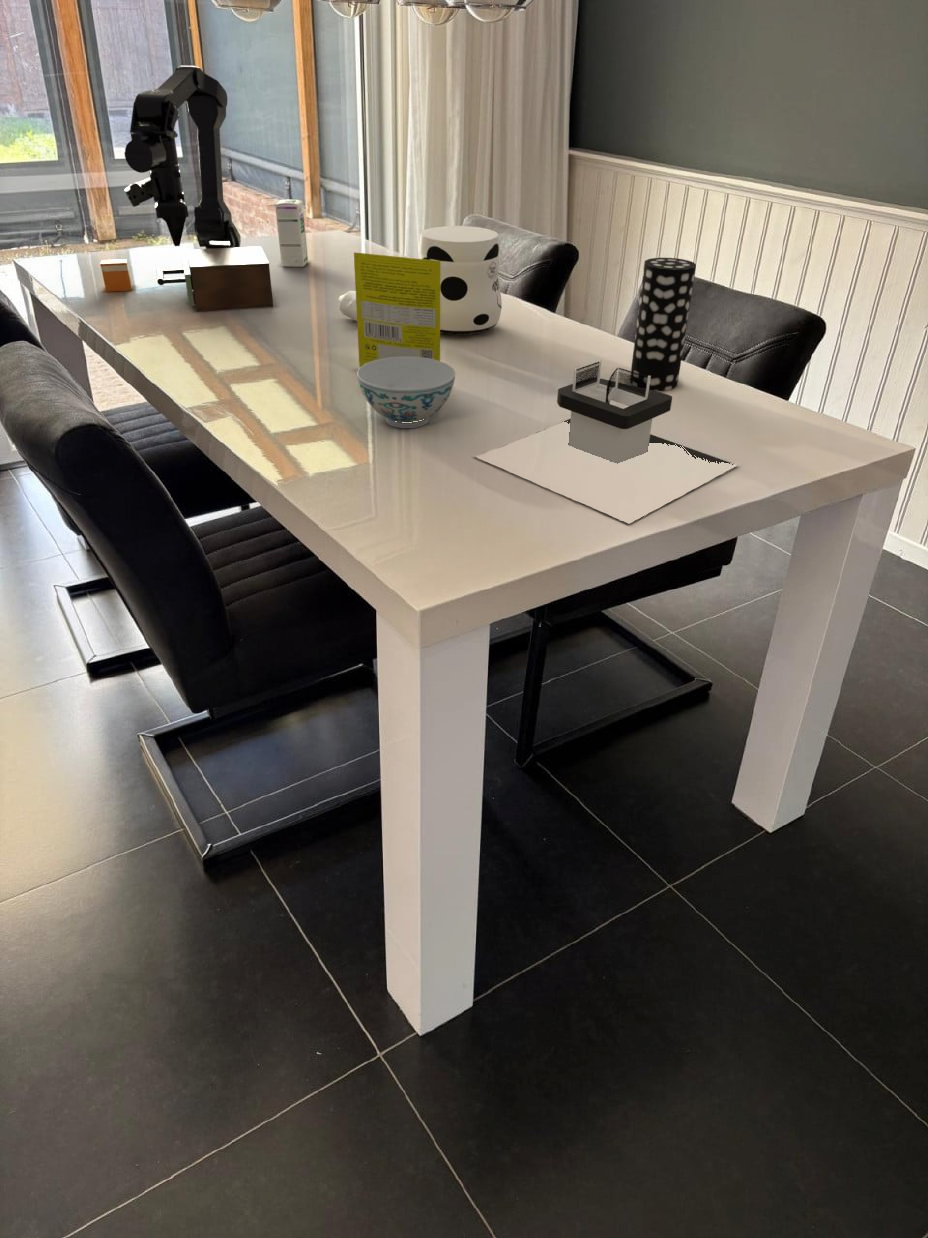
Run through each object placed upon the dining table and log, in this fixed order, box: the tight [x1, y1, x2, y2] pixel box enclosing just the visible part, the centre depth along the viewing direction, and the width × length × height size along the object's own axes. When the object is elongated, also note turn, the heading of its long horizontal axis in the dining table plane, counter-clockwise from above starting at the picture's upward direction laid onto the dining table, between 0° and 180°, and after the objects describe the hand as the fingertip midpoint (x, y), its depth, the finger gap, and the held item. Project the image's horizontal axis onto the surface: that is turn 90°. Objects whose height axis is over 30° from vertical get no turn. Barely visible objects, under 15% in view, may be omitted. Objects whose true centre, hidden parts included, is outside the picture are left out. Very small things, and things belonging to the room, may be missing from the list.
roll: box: [337, 290, 357, 323], centre depth 184 cm, size 6×12×6 cm, turn 35°
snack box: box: [100, 258, 133, 293], centre depth 200 cm, size 6×3×6 cm, turn 107°
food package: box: [353, 252, 441, 369], centre depth 152 cm, size 15×1×20 cm, turn 71°
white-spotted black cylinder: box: [630, 257, 697, 392], centre depth 152 cm, size 8×8×20 cm
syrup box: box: [274, 198, 309, 268], centre depth 220 cm, size 6×6×14 cm
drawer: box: [156, 256, 196, 307], centre depth 193 cm, size 22×16×6 cm
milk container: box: [418, 225, 503, 336], centre depth 177 cm, size 17×17×18 cm
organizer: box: [186, 246, 274, 312], centre depth 194 cm, size 16×16×9 cm
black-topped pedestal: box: [556, 360, 734, 465], centre depth 125 cm, size 28×26×13 cm
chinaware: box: [356, 357, 456, 429], centre depth 139 cm, size 15×15×8 cm
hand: (177, 245), depth 191 cm, fingers closed
